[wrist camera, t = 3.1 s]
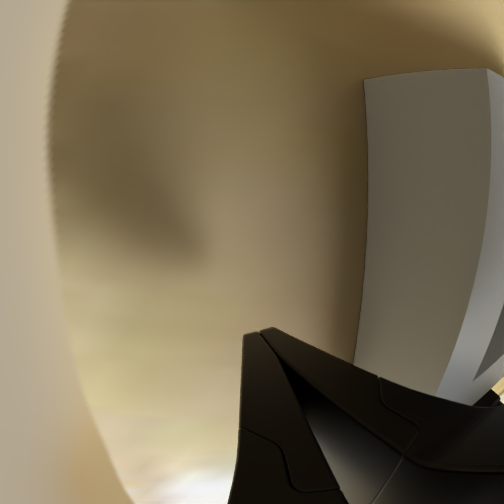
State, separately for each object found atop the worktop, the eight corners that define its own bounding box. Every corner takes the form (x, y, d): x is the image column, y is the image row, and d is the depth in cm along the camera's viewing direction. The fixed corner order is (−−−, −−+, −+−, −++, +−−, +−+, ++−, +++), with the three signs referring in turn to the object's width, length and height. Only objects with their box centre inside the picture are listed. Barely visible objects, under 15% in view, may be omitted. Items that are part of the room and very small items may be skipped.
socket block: (491, 308, 18) (537, 339, 13) (349, 388, 14) (403, 455, 10) (518, 118, 12) (579, 131, 8) (363, 79, 9) (486, 67, 4)
